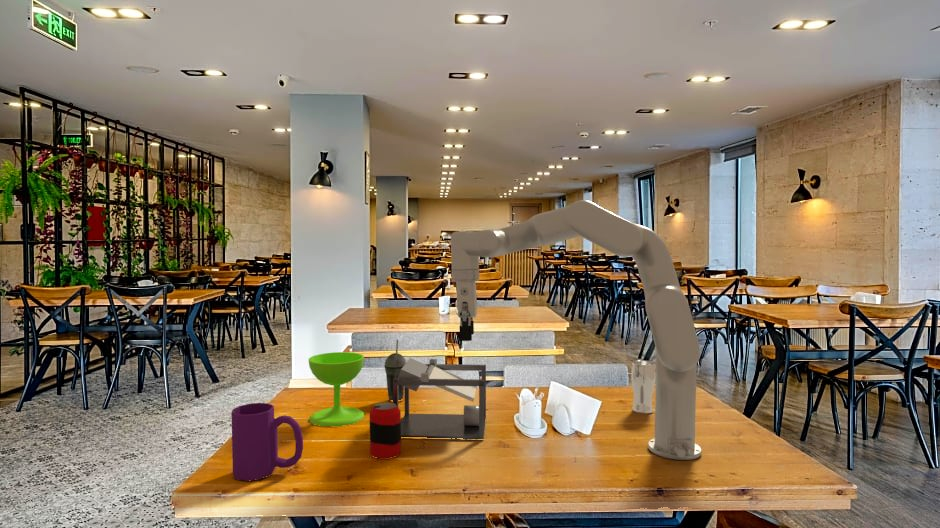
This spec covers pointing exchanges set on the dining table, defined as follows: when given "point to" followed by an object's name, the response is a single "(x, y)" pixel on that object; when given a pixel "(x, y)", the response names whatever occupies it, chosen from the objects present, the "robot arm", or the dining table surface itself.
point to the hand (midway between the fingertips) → (467, 337)
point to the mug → (259, 441)
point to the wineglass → (336, 385)
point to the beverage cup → (394, 372)
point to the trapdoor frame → (442, 423)
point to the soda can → (385, 430)
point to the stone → (471, 415)
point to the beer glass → (643, 385)
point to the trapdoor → (416, 368)
